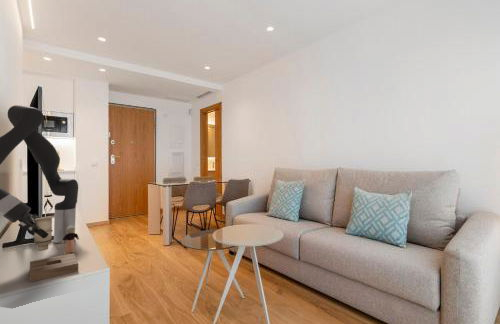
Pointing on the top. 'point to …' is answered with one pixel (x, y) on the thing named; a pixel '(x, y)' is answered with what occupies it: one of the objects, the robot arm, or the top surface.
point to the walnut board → (53, 267)
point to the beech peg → (46, 225)
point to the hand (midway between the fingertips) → (48, 234)
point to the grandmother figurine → (70, 240)
